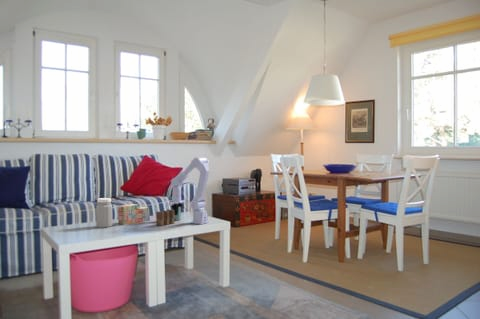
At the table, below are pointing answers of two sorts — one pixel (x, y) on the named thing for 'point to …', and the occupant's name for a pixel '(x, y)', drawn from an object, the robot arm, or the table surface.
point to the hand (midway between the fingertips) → (177, 214)
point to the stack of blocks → (132, 214)
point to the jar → (104, 213)
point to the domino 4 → (178, 216)
